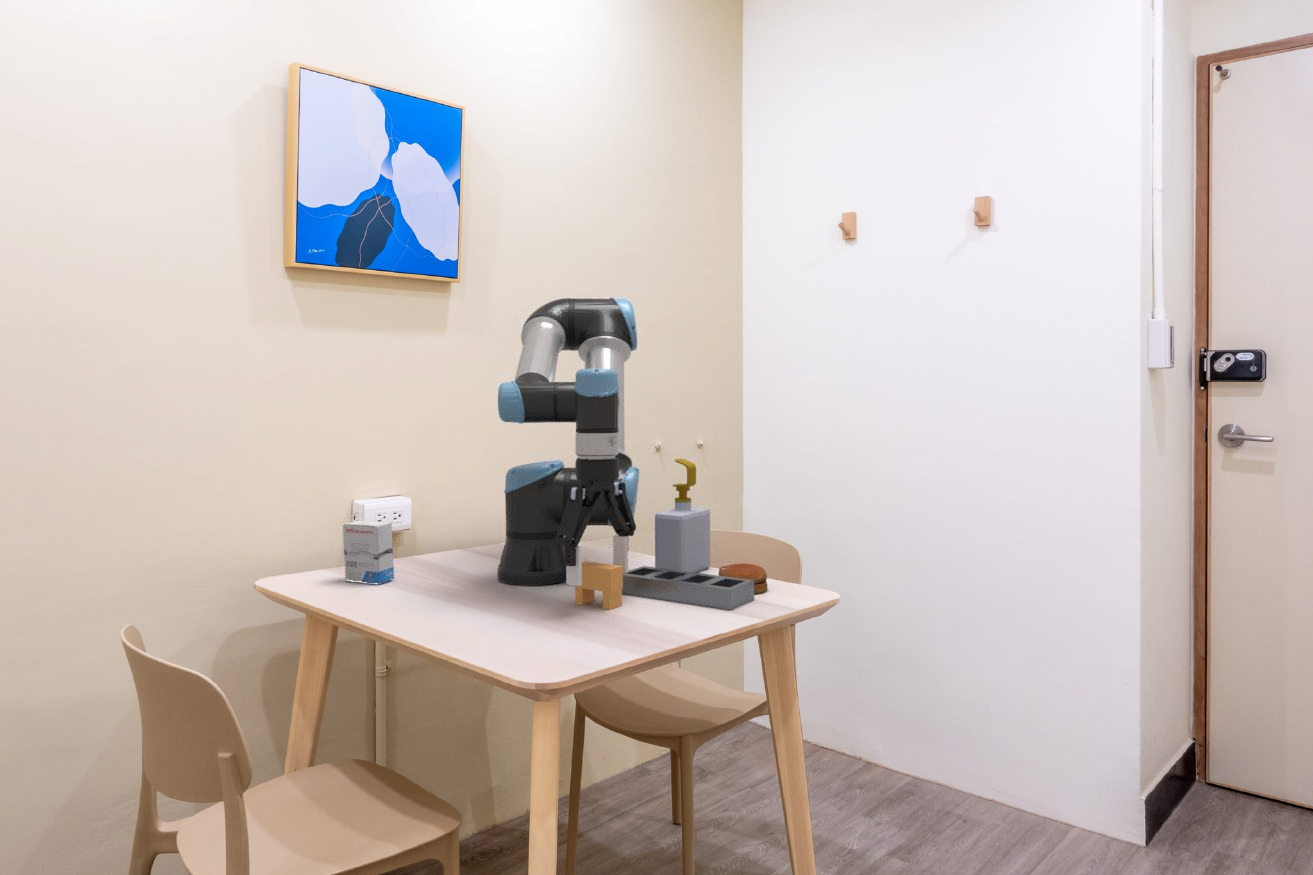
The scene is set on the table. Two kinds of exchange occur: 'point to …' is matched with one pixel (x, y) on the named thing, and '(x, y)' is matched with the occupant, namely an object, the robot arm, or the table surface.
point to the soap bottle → (683, 531)
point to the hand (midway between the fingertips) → (598, 578)
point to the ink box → (368, 551)
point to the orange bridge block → (600, 584)
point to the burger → (747, 574)
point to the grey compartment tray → (688, 587)
